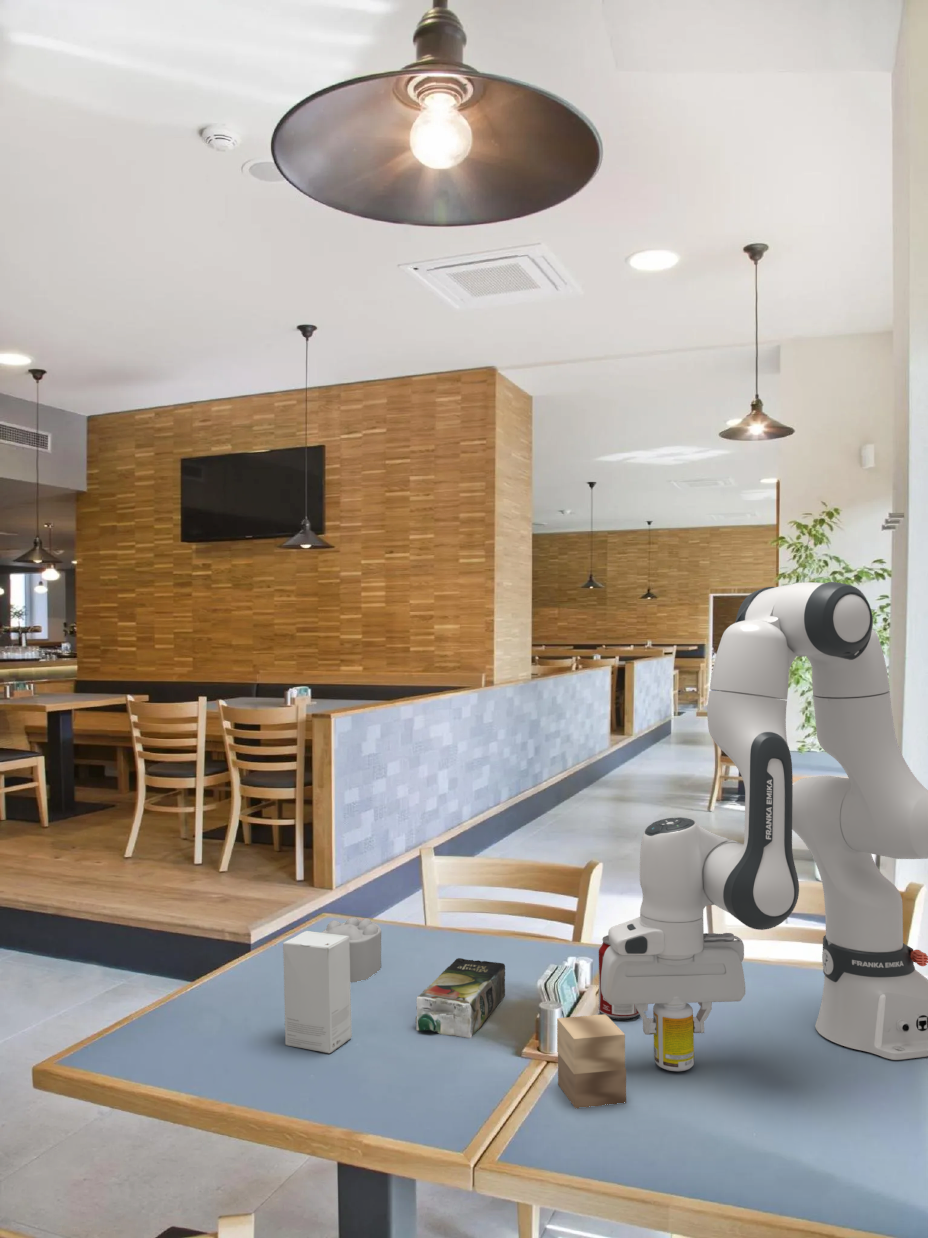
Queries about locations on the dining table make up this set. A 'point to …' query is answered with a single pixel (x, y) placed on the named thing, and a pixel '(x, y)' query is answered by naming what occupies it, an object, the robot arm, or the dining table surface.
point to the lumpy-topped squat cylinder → (360, 946)
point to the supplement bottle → (674, 1035)
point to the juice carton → (461, 998)
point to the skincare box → (317, 991)
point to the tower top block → (590, 1044)
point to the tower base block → (592, 1086)
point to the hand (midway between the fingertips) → (673, 1032)
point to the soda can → (610, 1010)
